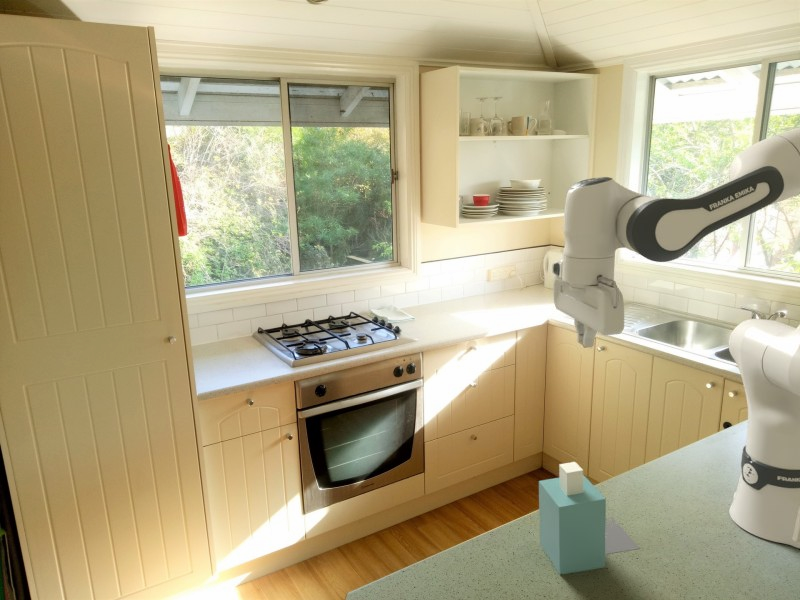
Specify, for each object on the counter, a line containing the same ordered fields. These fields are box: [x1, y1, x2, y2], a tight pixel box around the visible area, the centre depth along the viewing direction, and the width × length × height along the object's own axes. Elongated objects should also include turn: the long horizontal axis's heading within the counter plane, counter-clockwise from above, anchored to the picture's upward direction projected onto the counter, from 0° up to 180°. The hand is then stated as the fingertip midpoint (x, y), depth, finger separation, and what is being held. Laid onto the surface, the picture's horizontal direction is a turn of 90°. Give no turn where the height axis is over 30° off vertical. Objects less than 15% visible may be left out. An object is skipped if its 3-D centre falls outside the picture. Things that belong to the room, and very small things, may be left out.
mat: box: [605, 517, 641, 555], centre depth 114 cm, size 10×10×1 cm
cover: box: [538, 461, 607, 575], centre depth 106 cm, size 8×8×18 cm
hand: (585, 344), depth 109 cm, fingers closed
